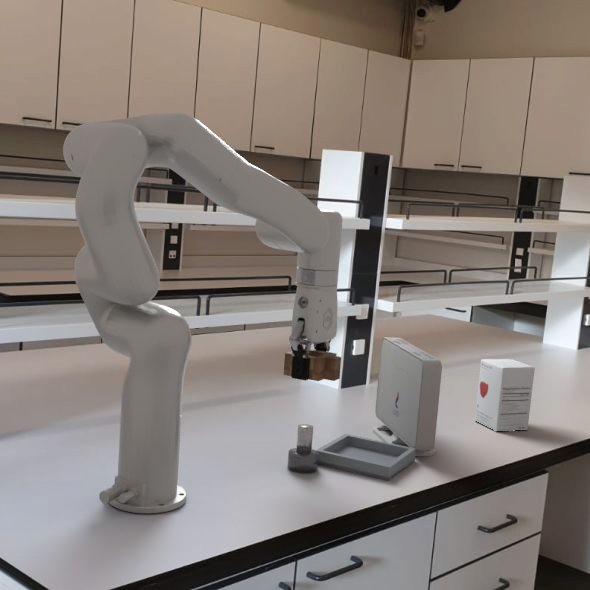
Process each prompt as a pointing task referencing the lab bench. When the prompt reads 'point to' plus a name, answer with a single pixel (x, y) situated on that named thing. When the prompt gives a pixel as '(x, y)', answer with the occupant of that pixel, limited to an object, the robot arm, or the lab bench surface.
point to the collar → (318, 365)
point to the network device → (408, 395)
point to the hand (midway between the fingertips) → (309, 374)
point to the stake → (303, 452)
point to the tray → (366, 456)
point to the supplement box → (504, 394)
